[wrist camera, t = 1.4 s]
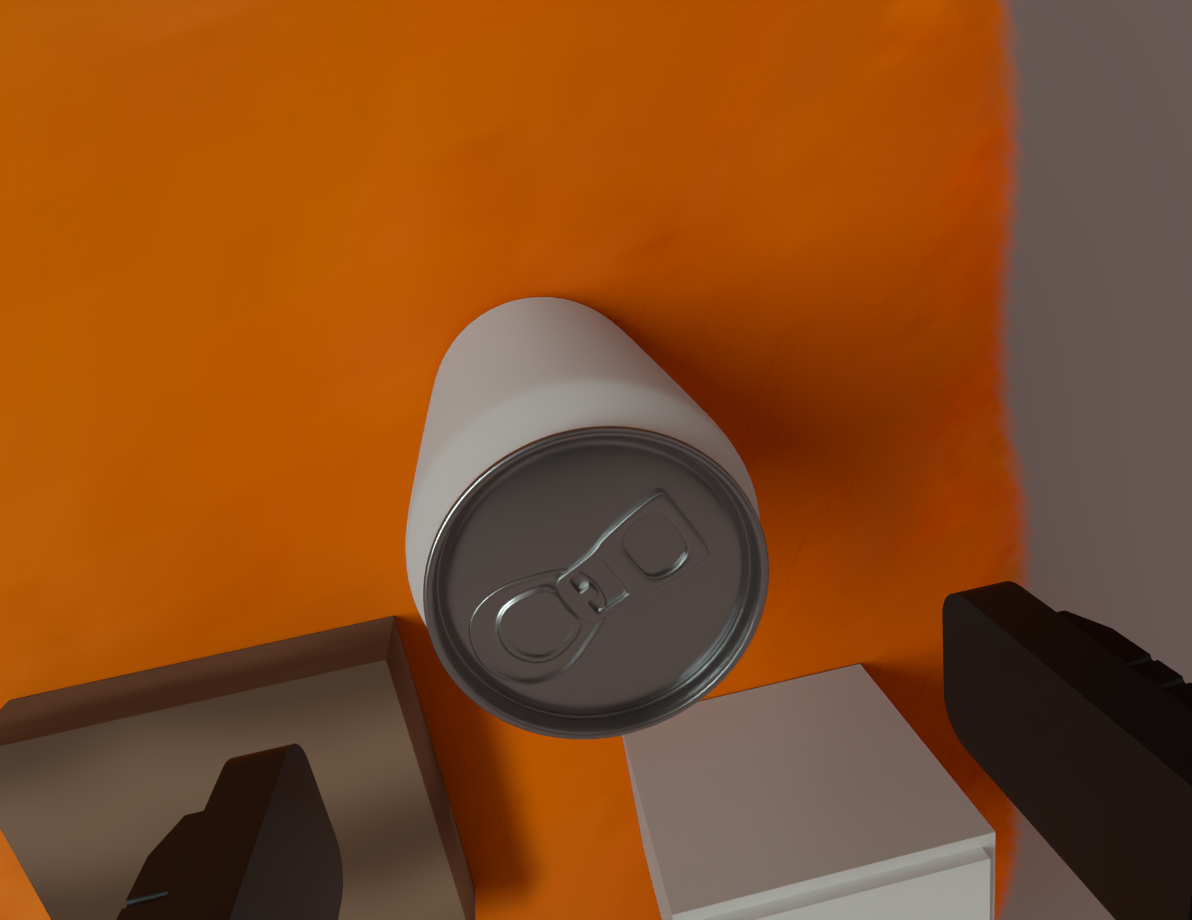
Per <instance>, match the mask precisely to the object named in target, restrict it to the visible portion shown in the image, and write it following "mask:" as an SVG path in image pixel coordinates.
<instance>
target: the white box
mask: <svg viewBox="0 0 1192 920" xmlns="http://www.w3.org/2000/svg"><path fill="white" fill-rule="evenodd" d="M622 737H623V743H624V748H625V753H626V758H627V764H628V769H629V774H630V779H631V785H632V790H633V795H634V800H635V806H636V811H637V816H638V821H639V827H640V832H641V837H642V842H643V848H644V852H645V855H646V859H647V863H648V867H649V871H650V875H651V879H652V883H653V887H654V891H655V895H656V899H657V903H658V906H659V910H660V914H661V918H662V920H994V892H995V831H994V830H993V828H992V827H991V826H990V825H989V823H988V822H987V821H986V820H985V818H984V817H983V816H982V815H981V813H980V812H979V811H978V810H977V808H976V807H975V806H974V805H973V803H972V802H971V801H970V800H969V798H968V797H967V796H966V795H965V794H964V792H963V791H962V790H961V789H960V787H959V786H958V785H957V784H956V782H955V781H954V780H953V779H952V777H951V776H950V775H949V774H948V772H947V771H946V770H945V769H944V767H943V766H942V765H941V764H940V762H939V761H938V760H937V759H936V757H935V756H934V755H933V754H932V753H931V751H930V750H929V749H928V748H927V746H926V745H925V744H924V743H923V741H922V740H921V739H920V738H919V736H918V735H917V734H916V733H915V731H914V730H913V729H912V728H911V726H910V725H909V724H908V723H907V721H906V720H905V719H904V718H903V716H902V715H901V714H900V713H899V711H898V710H897V709H896V708H895V707H894V705H893V704H892V703H891V702H890V700H889V699H888V698H887V697H886V695H885V694H884V693H883V692H882V690H881V689H880V688H879V687H878V685H877V684H876V683H875V682H874V680H873V679H872V678H871V677H870V675H869V674H868V673H867V672H866V670H865V669H864V668H863V667H862V665H861V664H856V665H852V666H848V667H844V668H839V669H835V670H831V671H827V672H822V673H818V674H814V675H810V676H805V677H801V678H797V679H793V680H788V681H784V682H780V683H776V684H771V685H767V686H763V687H759V688H754V689H750V690H746V691H742V692H737V693H733V694H729V695H725V696H720V697H716V698H712V699H708V700H704V701H699V702H697V703H695V704H694V705H692V706H691V707H689V708H688V709H686V710H685V711H683V712H681V713H680V714H678V715H676V716H674V717H672V718H670V719H668V720H666V721H664V722H662V723H659V724H657V725H655V726H652V727H649V728H647V729H643V730H640V731H637V732H633V733H630V734H625V735H622Z"/></svg>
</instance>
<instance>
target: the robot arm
mask: <svg viewBox="0 0 1192 920" xmlns="http://www.w3.org/2000/svg"><path fill="white" fill-rule="evenodd" d="M943 664H944V700H945V706H946V710H947V714H948V717H949V720H950V722H951V725H952V727H953V729H954V731H955V734H956V735H957V737H958V739H959V740H960V742H961V744H962V745H963V746H964V748H965V749H966V750H967V751H968V752H969V754H970V755H971V756H972V757H973V758H974V759H975V760H976V762H977V763H978V764H979V765H980V766H981V767H982V768H983V769H984V771H985V772H986V773H987V774H988V775H989V776H990V777H991V779H992V780H993V781H994V782H995V783H996V784H997V785H998V787H999V788H1000V789H1001V790H1002V791H1003V792H1004V793H1005V795H1006V796H1007V797H1008V798H1009V799H1010V800H1011V801H1012V802H1013V804H1014V805H1015V806H1016V807H1017V808H1018V809H1019V810H1020V812H1021V813H1022V814H1023V815H1024V816H1025V817H1026V818H1027V820H1028V821H1029V822H1030V823H1031V824H1032V825H1033V826H1034V827H1035V828H1036V830H1037V831H1038V832H1039V833H1040V834H1041V835H1042V836H1043V838H1044V839H1045V840H1046V841H1047V842H1048V843H1049V845H1050V846H1051V847H1052V848H1053V849H1054V850H1055V851H1056V853H1058V855H1059V856H1060V857H1061V858H1062V859H1063V860H1064V861H1065V863H1066V864H1067V865H1068V866H1069V867H1070V868H1071V869H1072V871H1073V872H1074V873H1075V874H1076V875H1077V876H1078V877H1079V879H1080V880H1081V881H1082V882H1083V883H1084V884H1085V885H1086V887H1087V888H1088V889H1089V890H1090V891H1091V892H1092V893H1093V894H1094V896H1095V897H1096V898H1097V899H1098V900H1099V901H1100V903H1101V904H1102V905H1103V906H1104V907H1105V908H1106V909H1107V910H1108V912H1109V913H1110V914H1111V915H1112V916H1113V917H1114V918H1115V919H1116V920H1192V683H1187V684H1186V683H1185V682H1184V680H1183V677H1182V676H1181V675H1179V674H1178V673H1177V672H1175V671H1174V670H1172V669H1171V668H1169V667H1168V666H1166V665H1165V664H1163V663H1162V662H1160V661H1159V660H1156V661H1153V660H1152V658H1151V655H1150V654H1149V653H1147V652H1146V651H1144V650H1143V649H1141V648H1140V647H1139V646H1137V645H1136V644H1134V643H1133V642H1131V641H1130V640H1128V639H1127V638H1125V637H1124V636H1123V635H1121V634H1120V633H1118V632H1117V631H1115V630H1113V629H1112V628H1110V627H1107V626H1104V625H1102V624H1099V623H1096V622H1094V621H1091V620H1089V619H1086V618H1083V617H1081V616H1078V615H1075V614H1073V613H1070V612H1068V611H1060V612H1055V611H1054V610H1053V609H1051V608H1050V607H1048V606H1047V605H1046V604H1044V603H1043V602H1042V601H1040V600H1039V599H1037V598H1036V597H1035V596H1033V595H1032V594H1031V593H1029V592H1028V591H1026V590H1025V589H1024V588H1022V587H1021V586H1019V585H1018V584H1016V583H1014V582H1011V581H1005V582H1001V583H997V584H992V585H988V586H984V587H979V588H975V589H971V590H966V591H962V592H958V593H953V594H950V595H948V596H947V597H946V599H945V601H944V604H943ZM342 893H343V869H342V860H341V854H340V849H339V845H338V841H337V838H336V835H335V833H334V830H333V827H332V824H331V822H330V819H329V816H328V813H327V811H326V808H325V805H324V802H323V800H322V797H321V794H320V791H319V788H318V786H317V783H316V780H315V777H314V775H313V772H312V769H311V766H310V764H309V761H308V758H307V756H306V754H305V752H304V750H303V749H302V747H301V746H300V745H298V744H296V743H294V744H290V745H286V746H281V747H277V748H273V749H268V750H264V751H259V752H255V753H251V754H246V755H242V756H238V757H233V758H230V759H229V760H228V761H227V762H226V763H225V764H224V766H223V768H222V770H221V773H220V775H219V777H218V779H217V782H216V784H215V786H214V788H213V791H212V793H211V795H210V798H209V800H208V802H207V804H206V807H205V809H204V811H200V812H196V813H192V814H188V815H184V816H183V818H182V819H181V820H180V821H179V822H178V823H177V824H176V825H175V826H174V828H173V829H172V830H171V831H170V832H169V833H168V834H167V835H166V836H165V838H164V839H163V840H162V841H161V842H160V843H159V844H158V845H157V846H156V847H155V849H154V850H153V851H152V852H151V853H150V854H149V855H148V856H147V859H146V861H145V863H144V865H143V867H142V869H141V871H140V873H139V875H138V877H137V879H136V881H135V883H134V885H133V887H132V889H131V891H130V893H129V895H128V897H127V899H126V902H127V906H126V908H123V909H121V911H120V913H119V915H118V917H117V919H116V920H338V918H339V912H340V907H341V901H342Z"/></svg>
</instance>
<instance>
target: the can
mask: <svg viewBox="0 0 1192 920" xmlns="http://www.w3.org/2000/svg"><path fill="white" fill-rule="evenodd" d="M406 564H407V573H408V579H409V584H410V588H411V592H412V595H413V598H414V601H415V604H416V606H417V609H418V611H419V613H420V615H421V618H422V619H423V621H424V623H425V625H426V627H427V629H428V633H429V636H430V639H431V642H432V645H433V647H434V650H435V652H436V654H437V656H438V658H439V660H440V662H441V664H442V665H443V667H444V668H445V670H446V672H447V673H448V674H449V676H450V677H451V678H452V680H453V681H454V682H455V683H456V685H457V686H458V687H459V688H460V689H461V690H462V691H463V692H464V693H465V694H466V695H467V696H468V697H469V698H470V699H471V700H472V701H474V702H475V703H476V704H477V705H479V706H480V707H481V708H483V709H484V710H486V711H487V712H488V713H490V714H492V715H493V716H495V717H497V718H499V719H500V720H502V721H504V722H506V723H508V724H511V725H513V726H515V727H518V728H521V729H523V730H526V731H529V732H533V733H536V734H541V735H545V736H550V737H557V738H565V739H600V738H609V737H615V736H621V735H625V734H630V733H633V732H637V731H640V730H643V729H647V728H649V727H652V726H655V725H657V724H659V723H662V722H664V721H666V720H668V719H670V718H672V717H674V716H676V715H678V714H680V713H681V712H683V711H685V710H686V709H688V708H689V707H691V706H692V705H694V704H695V703H697V702H698V701H700V700H701V699H702V698H703V697H705V696H706V695H707V694H708V693H710V692H711V691H712V690H713V689H714V688H715V687H716V686H717V685H718V684H719V683H720V682H721V681H722V680H723V679H724V678H725V677H726V676H727V675H728V674H729V673H730V671H731V670H732V669H733V668H734V666H735V665H736V664H737V662H738V661H739V660H740V658H741V657H742V655H743V654H744V652H745V651H746V649H747V647H748V646H749V644H750V642H751V640H752V638H753V636H754V634H755V632H756V629H757V627H758V624H759V622H760V619H761V616H762V613H763V609H764V606H765V601H766V596H767V590H768V579H769V562H768V552H767V546H766V541H765V537H764V533H763V530H762V527H761V524H760V517H759V509H758V503H757V498H756V494H755V491H754V487H753V484H752V481H751V479H750V476H749V474H748V472H747V469H746V467H745V465H744V463H743V461H742V460H741V458H740V456H739V455H738V453H737V451H736V449H735V448H734V446H733V445H732V443H731V442H730V440H729V439H728V438H727V436H726V435H725V434H724V433H723V432H722V430H721V429H720V428H719V427H718V426H717V424H716V423H715V422H714V421H713V420H712V419H711V418H710V417H709V416H708V414H707V413H706V412H705V411H704V410H703V409H702V408H701V407H700V406H699V405H698V404H697V403H696V402H695V401H694V400H693V399H692V398H691V397H690V396H689V395H688V394H687V393H686V392H685V391H684V390H683V389H682V388H681V387H680V386H679V385H678V384H677V383H676V382H675V381H674V380H673V379H672V378H671V377H670V376H669V375H668V374H667V373H666V372H665V371H664V370H663V369H662V368H661V367H660V366H659V365H658V364H657V363H656V362H655V361H654V360H653V359H652V358H651V357H650V356H649V355H648V354H646V353H645V352H644V351H643V350H642V349H641V348H640V347H639V346H638V345H637V344H636V343H635V342H634V341H633V340H632V339H631V338H630V337H629V336H628V335H627V334H626V333H625V332H624V331H622V330H621V329H620V328H619V327H618V326H617V325H616V324H614V323H613V322H612V321H611V320H609V319H608V318H607V317H605V316H604V315H602V314H601V313H599V312H597V311H595V310H593V309H592V308H589V307H587V306H585V305H582V304H580V303H577V302H574V301H570V300H566V299H560V298H553V297H533V298H525V299H519V300H515V301H511V302H508V303H505V304H503V305H500V306H498V307H495V308H493V309H491V310H489V311H488V312H486V313H484V314H483V315H481V316H480V317H478V318H477V319H475V320H474V321H473V322H472V323H470V324H469V325H468V326H467V327H466V328H465V329H464V330H463V331H462V332H461V333H460V334H459V335H458V337H457V338H456V339H455V340H454V342H453V343H452V345H451V346H450V348H449V349H448V351H447V353H446V354H445V356H444V358H443V360H442V362H441V365H440V367H439V370H438V373H437V376H436V379H435V383H434V387H433V391H432V395H431V400H430V404H429V409H428V414H427V419H426V423H425V428H424V433H423V438H422V443H421V448H420V453H419V458H418V463H417V468H416V473H415V479H414V484H413V489H412V495H411V501H410V506H409V512H408V521H407V529H406Z"/></svg>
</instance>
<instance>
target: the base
mask: <svg viewBox="0 0 1192 920" xmlns="http://www.w3.org/2000/svg"><path fill="white" fill-rule="evenodd" d="M294 743H296V744H298V745H300V746H301V747H302V749H303V750H304V752H305V754H306V756H307V758H308V761H309V764H310V766H311V769H312V772H313V775H314V777H315V780H316V783H317V786H318V788H319V791H320V794H321V797H322V800H323V802H324V805H325V808H326V811H327V813H328V816H329V819H330V822H331V824H332V827H333V830H334V833H335V835H336V838H337V841H338V845H339V849H340V854H341V860H342V869H343V893H342V901H341V907H340V912H339V918H338V920H475V888H474V884H473V881H472V878H471V874H470V871H469V867H468V864H467V861H466V857H465V854H464V850H463V847H462V844H461V840H460V837H459V834H458V830H457V827H456V823H455V820H454V817H453V813H452V810H451V807H450V803H449V800H448V796H447V793H446V790H445V786H444V783H443V780H442V776H441V773H440V769H439V766H438V763H437V759H436V756H435V753H434V749H433V746H432V742H431V739H430V736H429V732H428V729H427V726H426V722H425V719H424V715H423V712H422V709H421V705H420V702H419V699H418V695H417V692H416V688H415V685H414V682H413V678H412V675H411V672H410V668H409V665H408V661H407V658H406V655H405V651H404V648H403V645H402V641H401V638H400V634H399V631H398V628H397V624H396V621H395V617H394V616H392V617H387V618H383V619H378V620H374V621H369V622H365V623H360V624H355V625H351V626H346V627H342V628H337V629H333V630H328V631H324V632H319V633H315V634H310V635H305V636H301V637H296V638H292V639H287V640H283V641H278V642H274V643H269V644H265V645H260V646H255V647H251V648H246V649H242V650H237V651H233V652H228V653H224V654H219V655H214V656H210V657H205V658H201V659H196V660H192V661H187V662H183V663H178V664H174V665H169V666H164V667H160V668H155V669H151V670H146V671H142V672H137V673H133V674H128V675H124V676H119V677H114V678H110V679H105V680H101V681H96V682H92V683H87V684H83V685H78V686H74V687H69V688H64V689H60V690H55V691H51V692H46V693H42V694H37V695H33V696H28V697H24V698H19V699H14V700H10V701H8V702H7V703H6V704H5V705H4V706H3V707H2V709H1V710H0V829H1V830H2V832H3V834H4V836H5V837H6V839H7V841H8V843H9V845H10V846H11V848H12V850H13V852H14V854H15V855H16V857H17V859H18V861H19V863H20V864H21V866H22V868H23V870H24V871H25V873H26V875H27V877H28V879H29V880H30V882H31V884H32V886H33V888H34V889H35V891H36V893H37V895H38V896H39V898H40V900H41V902H42V904H43V905H44V907H45V909H46V911H47V913H48V914H49V916H50V918H51V920H116V919H117V917H118V915H119V913H120V911H121V909H123V908H126V906H127V902H126V899H127V897H128V895H129V893H130V891H131V889H132V887H133V885H134V883H135V881H136V879H137V877H138V875H139V873H140V871H141V869H142V867H143V865H144V863H145V861H146V859H147V856H148V855H149V854H150V853H151V852H152V851H153V850H154V849H155V847H156V846H157V845H158V844H159V843H160V842H161V841H162V840H163V839H164V838H165V836H166V835H167V834H168V833H169V832H170V831H171V830H172V829H173V828H174V826H175V825H176V824H177V823H178V822H179V821H180V820H181V819H182V818H183V816H184V815H188V814H192V813H196V812H200V811H204V809H205V807H206V804H207V802H208V800H209V798H210V795H211V793H212V791H213V788H214V786H215V784H216V782H217V779H218V777H219V775H220V773H221V770H222V768H223V766H224V764H225V763H226V762H227V761H228V760H229V759H230V758H233V757H238V756H242V755H246V754H251V753H255V752H259V751H264V750H268V749H273V748H277V747H281V746H286V745H290V744H294Z"/></svg>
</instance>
